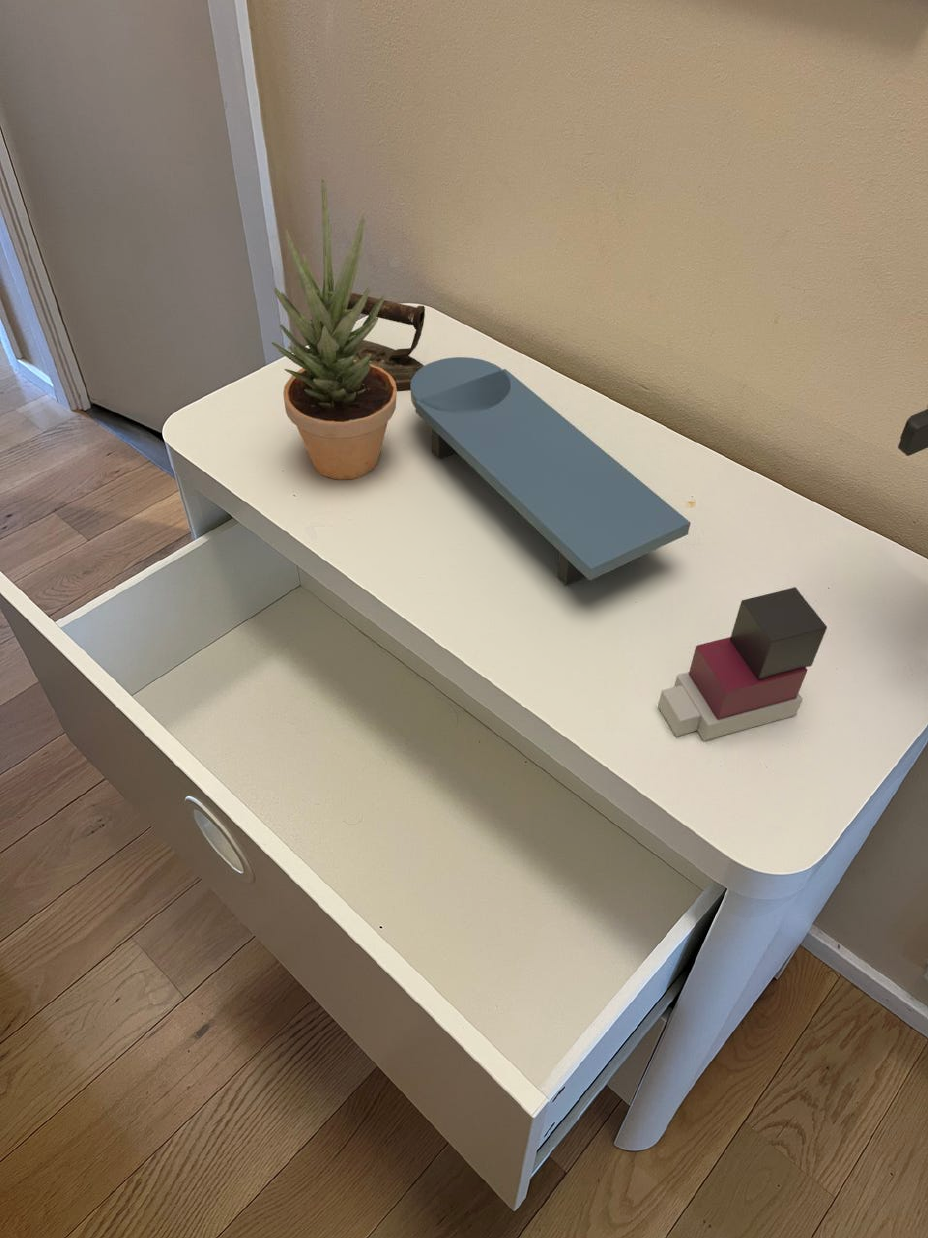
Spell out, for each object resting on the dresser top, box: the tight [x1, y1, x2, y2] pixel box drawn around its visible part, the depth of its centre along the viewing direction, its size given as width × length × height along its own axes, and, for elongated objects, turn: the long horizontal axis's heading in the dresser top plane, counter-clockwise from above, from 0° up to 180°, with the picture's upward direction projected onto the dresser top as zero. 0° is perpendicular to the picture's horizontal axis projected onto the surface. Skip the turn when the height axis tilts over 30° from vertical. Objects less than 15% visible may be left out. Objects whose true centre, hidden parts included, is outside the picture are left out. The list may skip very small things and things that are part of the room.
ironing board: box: [409, 356, 691, 586], centre depth 82 cm, size 30×10×5 cm, turn 32°
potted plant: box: [271, 173, 398, 480], centre depth 78 cm, size 10×10×25 cm
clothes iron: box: [346, 291, 426, 392], centre depth 93 cm, size 7×11×10 cm, turn 73°
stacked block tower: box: [657, 587, 828, 742], centre depth 64 cm, size 9×5×9 cm, turn 108°
